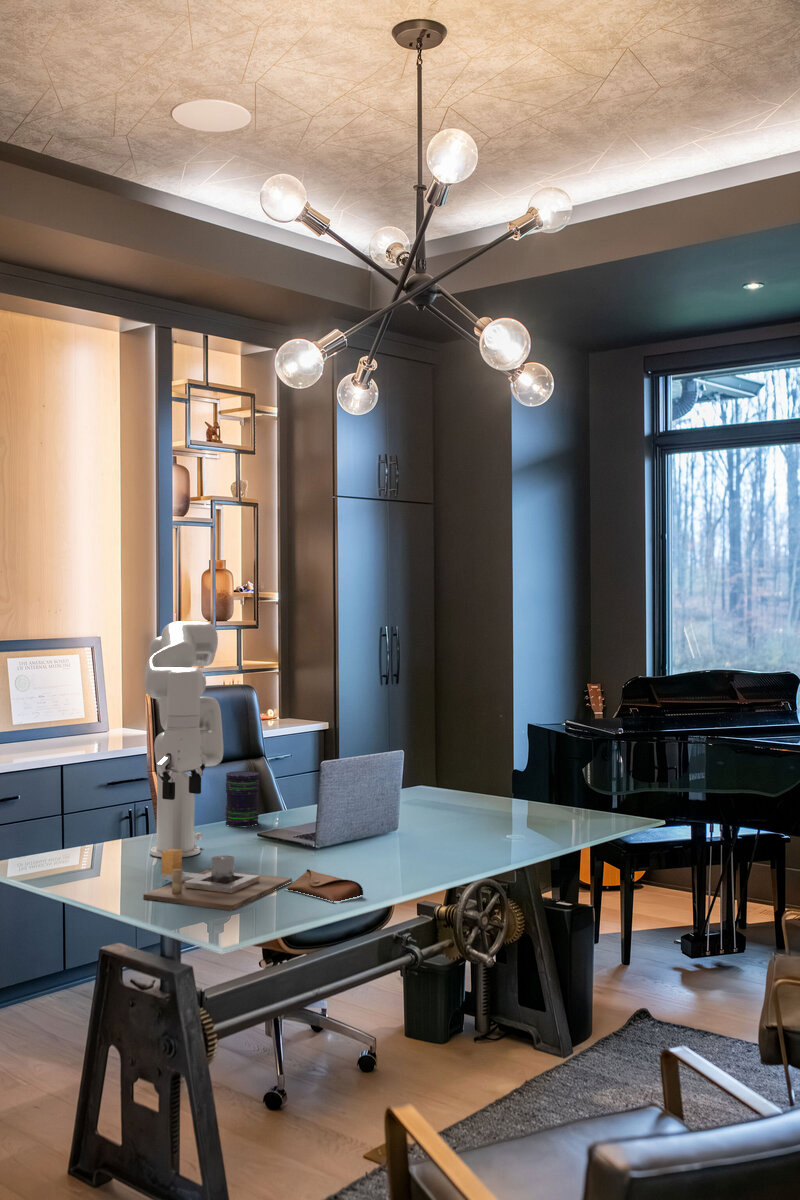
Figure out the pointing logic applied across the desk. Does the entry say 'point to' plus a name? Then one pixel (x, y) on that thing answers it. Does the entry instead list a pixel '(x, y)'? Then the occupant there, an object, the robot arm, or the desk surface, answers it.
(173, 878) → the dowel
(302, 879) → the sunglasses case
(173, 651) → the robot arm
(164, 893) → the base board
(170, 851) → the square frame with handle
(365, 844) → the desk surface
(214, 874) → the post
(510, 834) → the desk surface
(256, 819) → the storage jar
